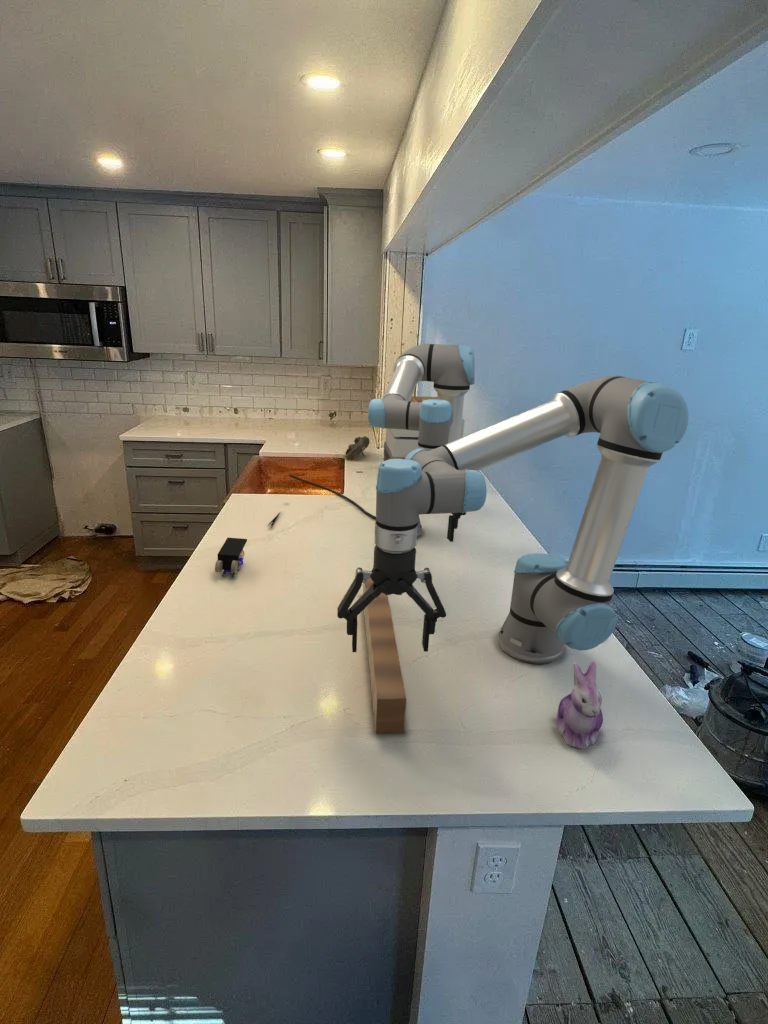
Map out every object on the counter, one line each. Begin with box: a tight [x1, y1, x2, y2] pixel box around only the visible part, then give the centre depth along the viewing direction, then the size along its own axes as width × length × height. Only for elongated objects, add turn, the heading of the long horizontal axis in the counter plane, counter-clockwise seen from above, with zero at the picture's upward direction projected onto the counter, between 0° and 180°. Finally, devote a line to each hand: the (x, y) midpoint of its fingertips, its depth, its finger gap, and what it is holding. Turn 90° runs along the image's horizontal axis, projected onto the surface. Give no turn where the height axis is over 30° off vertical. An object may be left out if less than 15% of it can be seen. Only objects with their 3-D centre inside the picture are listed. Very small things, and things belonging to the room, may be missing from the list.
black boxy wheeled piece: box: [214, 537, 248, 578], centre depth 166 cm, size 7×8×15 cm
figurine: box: [556, 661, 604, 749], centre depth 106 cm, size 9×10×15 cm
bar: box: [362, 578, 407, 735], centre depth 130 cm, size 53×5×8 cm, turn 5°
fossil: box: [344, 436, 370, 461], centre depth 300 cm, size 22×10×15 cm
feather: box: [266, 512, 281, 529], centre depth 211 cm, size 2×28×2 cm
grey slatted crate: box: [383, 395, 465, 462], centre depth 268 cm, size 34×33×41 cm
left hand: (425, 541), depth 149 cm, fingers open, 13 cm apart
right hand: (389, 648), depth 108 cm, fingers open, 13 cm apart
